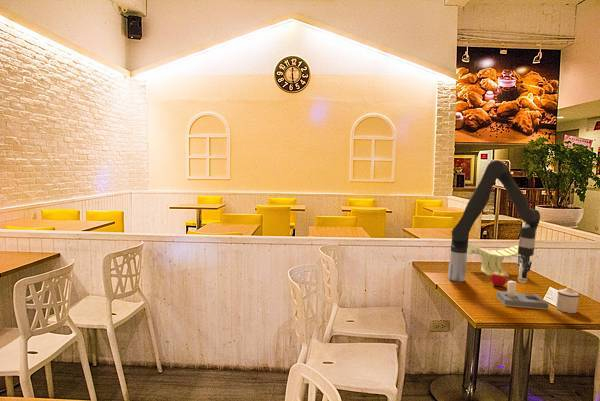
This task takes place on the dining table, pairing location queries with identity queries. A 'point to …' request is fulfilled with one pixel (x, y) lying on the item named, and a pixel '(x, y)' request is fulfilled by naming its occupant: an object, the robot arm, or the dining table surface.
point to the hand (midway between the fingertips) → (522, 276)
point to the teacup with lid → (567, 300)
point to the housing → (523, 300)
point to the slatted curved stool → (493, 258)
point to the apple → (498, 278)
